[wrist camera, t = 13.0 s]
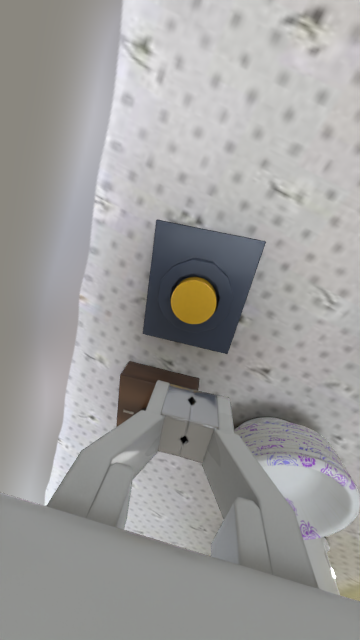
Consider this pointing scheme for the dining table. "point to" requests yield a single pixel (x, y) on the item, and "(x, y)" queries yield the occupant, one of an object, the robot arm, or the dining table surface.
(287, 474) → the paper bowls
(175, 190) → the dining table surface
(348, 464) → the dining table surface
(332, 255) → the dining table surface
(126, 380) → the panel
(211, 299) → the button
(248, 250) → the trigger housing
